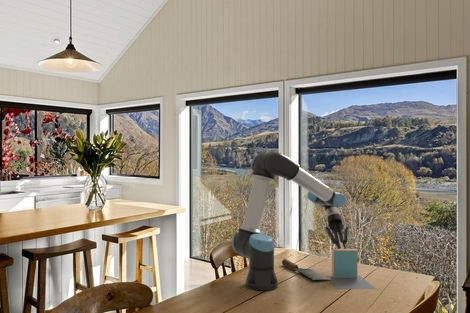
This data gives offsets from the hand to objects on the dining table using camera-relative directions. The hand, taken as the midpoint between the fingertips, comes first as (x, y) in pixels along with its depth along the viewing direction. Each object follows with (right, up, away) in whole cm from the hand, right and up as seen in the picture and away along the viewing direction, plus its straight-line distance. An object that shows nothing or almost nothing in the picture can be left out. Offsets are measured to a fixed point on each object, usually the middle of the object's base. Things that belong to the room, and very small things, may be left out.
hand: (343, 255), depth 199 cm
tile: (0, -10, -3) cm, 11 cm away
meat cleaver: (-18, -11, +6) cm, 22 cm away
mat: (0, -11, -10) cm, 15 cm away
